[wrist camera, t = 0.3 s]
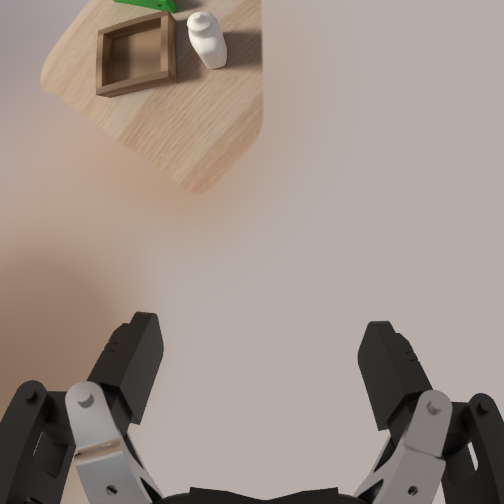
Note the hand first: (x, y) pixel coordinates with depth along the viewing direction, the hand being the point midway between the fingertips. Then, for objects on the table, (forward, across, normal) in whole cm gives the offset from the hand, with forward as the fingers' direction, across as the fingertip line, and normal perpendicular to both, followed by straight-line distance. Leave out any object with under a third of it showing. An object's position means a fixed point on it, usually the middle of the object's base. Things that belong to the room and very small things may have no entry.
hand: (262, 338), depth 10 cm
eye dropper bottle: (+29, +7, -18) cm, 35 cm away
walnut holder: (+29, +17, -18) cm, 38 cm away
